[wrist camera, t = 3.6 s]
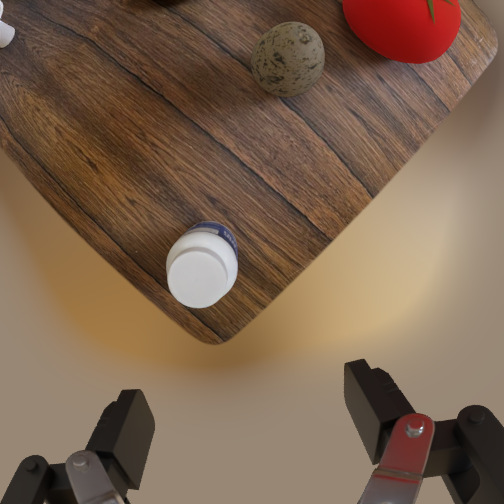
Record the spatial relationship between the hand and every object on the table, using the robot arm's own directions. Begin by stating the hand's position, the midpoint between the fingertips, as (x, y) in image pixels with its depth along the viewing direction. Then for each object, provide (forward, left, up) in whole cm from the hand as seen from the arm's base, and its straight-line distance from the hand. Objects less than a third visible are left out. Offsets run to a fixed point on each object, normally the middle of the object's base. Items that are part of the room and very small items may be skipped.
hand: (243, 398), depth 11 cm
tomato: (+17, +25, -20) cm, 36 cm away
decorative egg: (+5, +18, -20) cm, 27 cm away
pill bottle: (-3, +2, -20) cm, 20 cm away
